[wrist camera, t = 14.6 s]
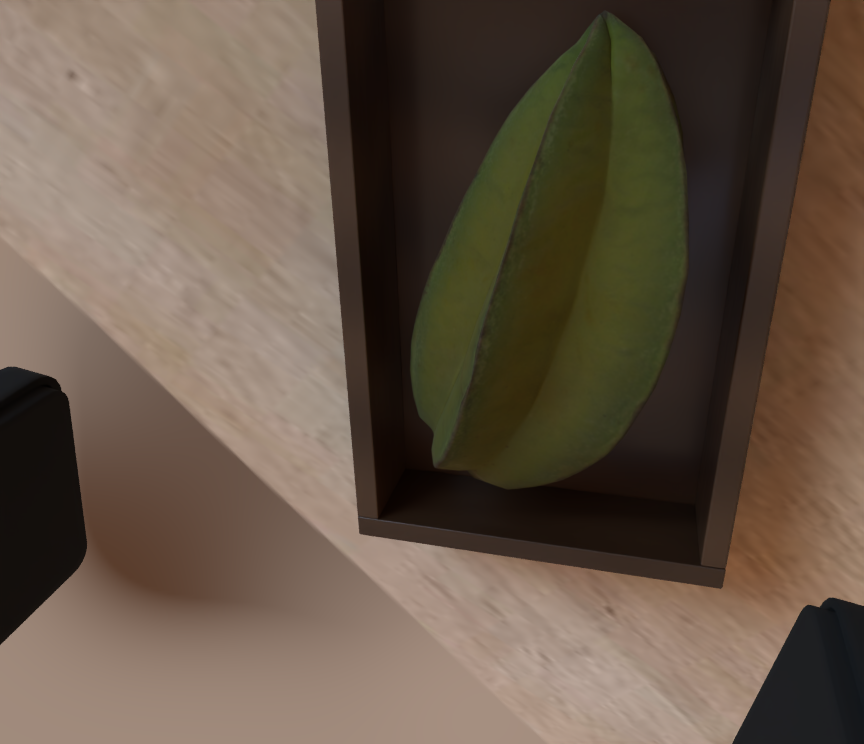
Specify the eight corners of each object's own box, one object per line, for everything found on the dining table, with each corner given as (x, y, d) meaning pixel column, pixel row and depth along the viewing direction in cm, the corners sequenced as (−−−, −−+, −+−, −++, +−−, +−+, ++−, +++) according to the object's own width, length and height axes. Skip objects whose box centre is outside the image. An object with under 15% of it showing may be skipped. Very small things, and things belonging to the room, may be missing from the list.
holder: (361, -73, 22) (306, -89, 19) (817, -101, 19) (854, -126, 16) (392, 474, 31) (358, 534, 27) (713, 515, 28) (722, 589, 24)
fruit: (827, 438, 20) (760, 308, 26) (661, 35, 14) (619, -26, 20) (467, 559, 24) (472, 427, 30) (227, 285, 19) (286, 180, 24)
